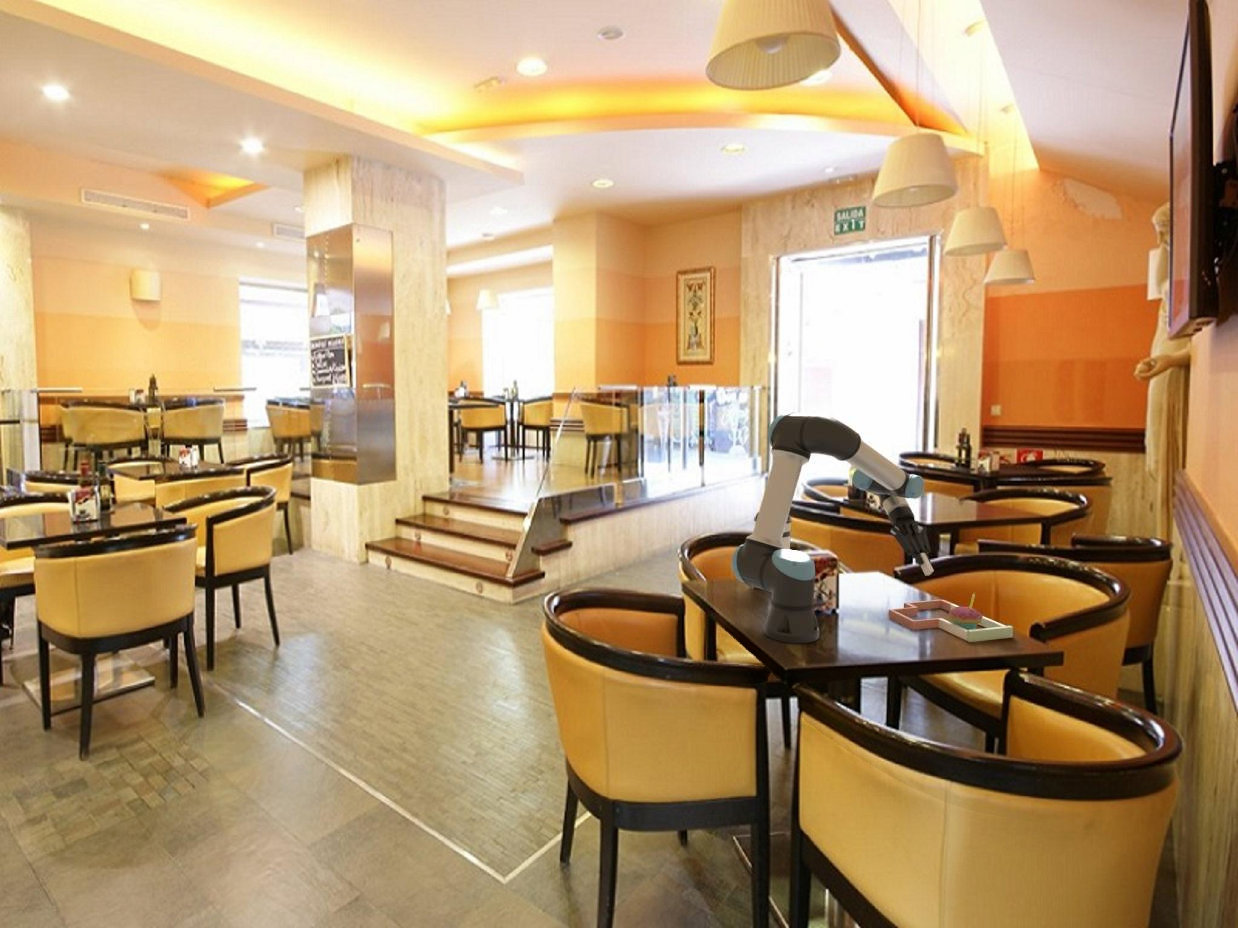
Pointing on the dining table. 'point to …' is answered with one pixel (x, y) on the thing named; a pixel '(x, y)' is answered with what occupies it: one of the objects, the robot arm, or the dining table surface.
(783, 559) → the robot arm
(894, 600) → the dining table surface
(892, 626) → the dining table surface
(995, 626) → the track
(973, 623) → the cupcake
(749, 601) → the dining table surface
